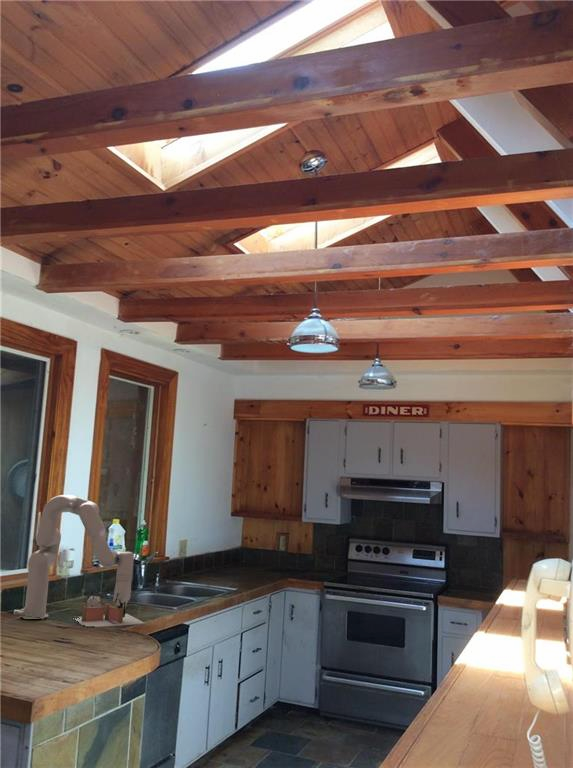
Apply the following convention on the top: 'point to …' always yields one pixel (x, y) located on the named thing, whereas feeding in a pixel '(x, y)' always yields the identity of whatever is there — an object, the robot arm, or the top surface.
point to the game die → (94, 601)
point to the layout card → (110, 622)
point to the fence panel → (115, 614)
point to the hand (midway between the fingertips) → (121, 617)
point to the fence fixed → (94, 613)
